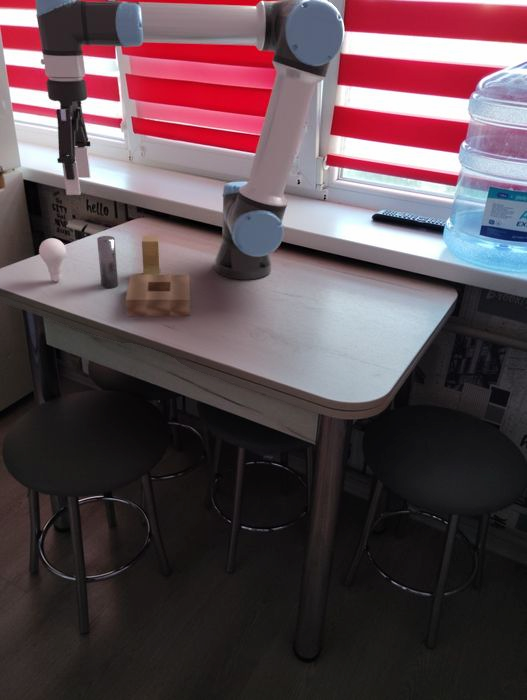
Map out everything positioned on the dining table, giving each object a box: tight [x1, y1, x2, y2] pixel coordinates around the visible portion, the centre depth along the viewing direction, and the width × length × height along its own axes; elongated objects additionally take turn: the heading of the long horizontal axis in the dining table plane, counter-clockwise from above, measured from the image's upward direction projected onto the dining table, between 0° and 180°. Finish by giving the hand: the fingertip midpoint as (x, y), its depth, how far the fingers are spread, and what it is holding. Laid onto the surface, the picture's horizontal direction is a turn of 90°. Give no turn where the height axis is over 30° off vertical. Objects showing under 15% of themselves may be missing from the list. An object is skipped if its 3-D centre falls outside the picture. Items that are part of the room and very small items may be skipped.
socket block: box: [125, 273, 191, 317], centre depth 139 cm, size 14×14×4 cm
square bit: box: [141, 235, 161, 275], centre depth 150 cm, size 4×4×10 cm
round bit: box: [96, 235, 119, 290], centre depth 143 cm, size 4×4×12 cm
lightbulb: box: [38, 237, 67, 283], centre depth 144 cm, size 6×6×11 cm
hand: (79, 185), depth 128 cm, fingers open, 13 cm apart
